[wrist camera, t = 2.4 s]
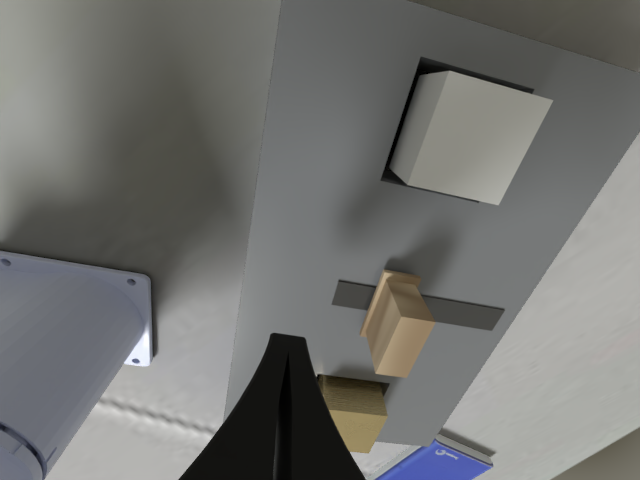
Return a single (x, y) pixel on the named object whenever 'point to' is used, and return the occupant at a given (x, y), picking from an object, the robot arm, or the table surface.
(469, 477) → the hard drive
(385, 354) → the tan wooden block
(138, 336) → the robot arm
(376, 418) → the brass button
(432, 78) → the grey button
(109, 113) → the table surface
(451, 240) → the panel
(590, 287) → the table surface
